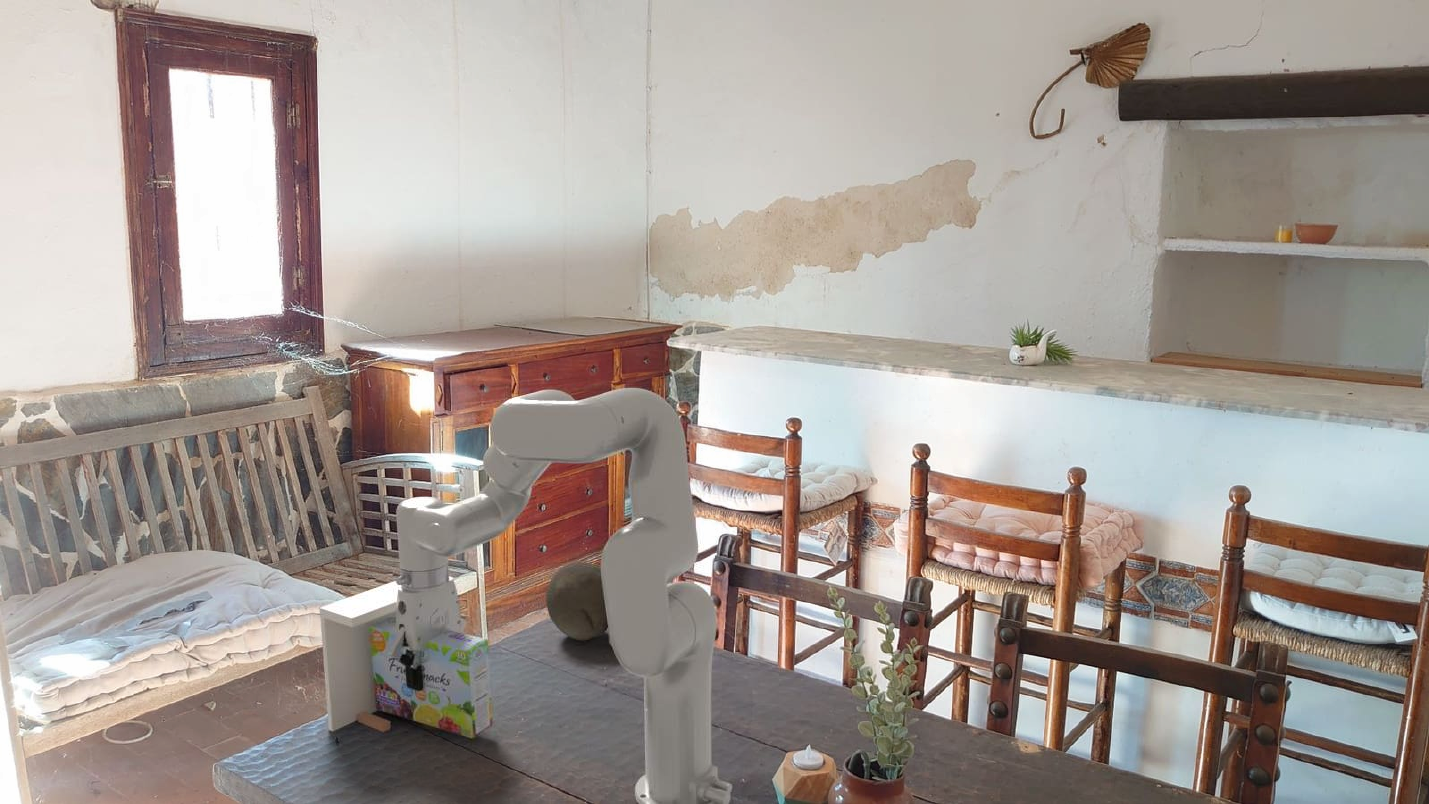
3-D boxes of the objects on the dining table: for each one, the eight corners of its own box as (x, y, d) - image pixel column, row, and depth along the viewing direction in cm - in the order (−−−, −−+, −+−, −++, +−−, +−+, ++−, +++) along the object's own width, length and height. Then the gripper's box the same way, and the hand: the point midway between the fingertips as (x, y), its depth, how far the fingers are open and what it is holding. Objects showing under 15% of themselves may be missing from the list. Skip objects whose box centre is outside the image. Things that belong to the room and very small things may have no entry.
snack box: (372, 712, 176) (367, 625, 174) (397, 698, 181) (392, 614, 178) (471, 740, 166) (467, 649, 164) (495, 725, 171) (491, 636, 169)
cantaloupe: (628, 629, 215) (627, 558, 212) (597, 656, 202) (596, 580, 199) (566, 620, 220) (564, 550, 217) (532, 646, 207) (529, 572, 204)
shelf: (455, 696, 185) (449, 581, 182) (360, 743, 169) (351, 618, 165) (424, 685, 190) (418, 572, 186) (328, 730, 173) (319, 607, 170)
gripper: (396, 595, 160) (403, 707, 163) (481, 564, 174) (486, 667, 177) (364, 586, 164) (372, 695, 168) (449, 556, 178) (455, 657, 182)
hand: (430, 680), depth 172 cm, fingers closed on snack box, 5 cm apart
